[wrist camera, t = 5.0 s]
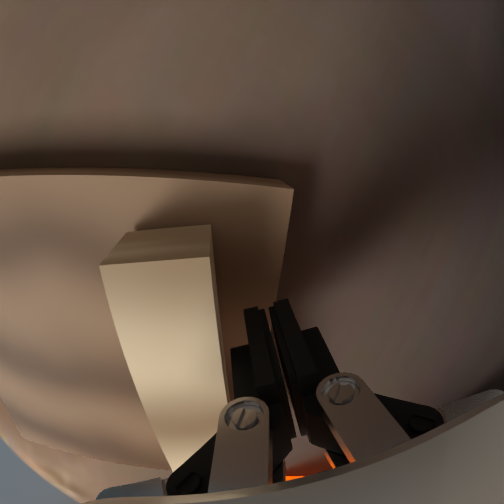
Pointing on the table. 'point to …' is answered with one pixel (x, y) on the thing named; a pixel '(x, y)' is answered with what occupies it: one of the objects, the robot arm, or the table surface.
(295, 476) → the orange juice
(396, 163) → the table surface
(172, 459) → the hinged leg
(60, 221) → the stool top
